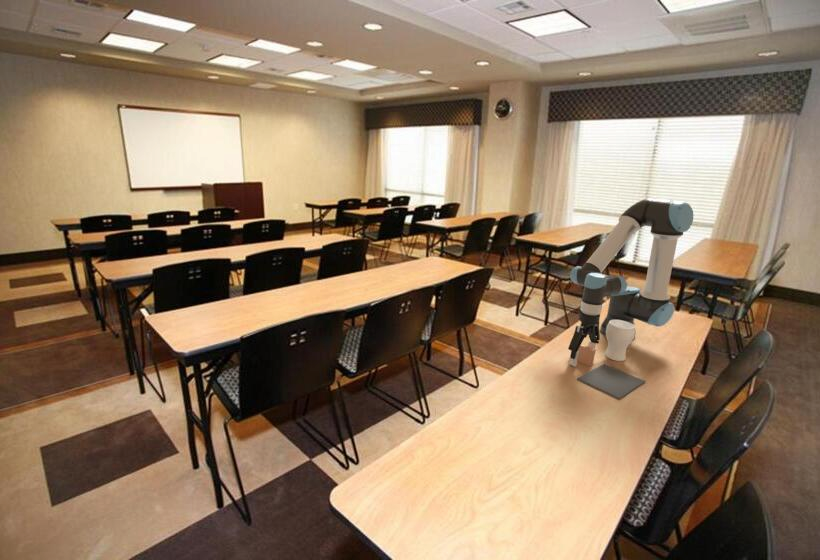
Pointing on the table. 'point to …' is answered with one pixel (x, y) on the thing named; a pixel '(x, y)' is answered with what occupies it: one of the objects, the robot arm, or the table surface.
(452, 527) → the table surface
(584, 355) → the slab
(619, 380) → the mat
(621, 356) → the cup
